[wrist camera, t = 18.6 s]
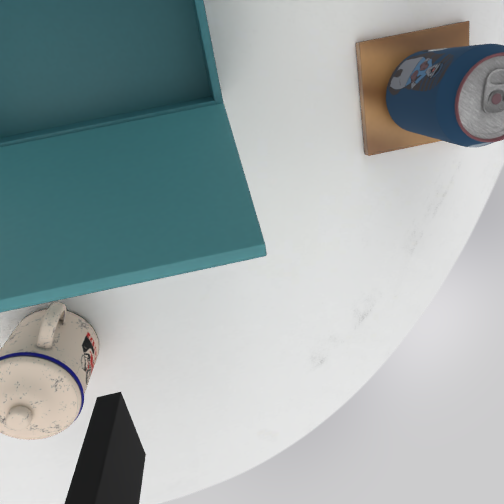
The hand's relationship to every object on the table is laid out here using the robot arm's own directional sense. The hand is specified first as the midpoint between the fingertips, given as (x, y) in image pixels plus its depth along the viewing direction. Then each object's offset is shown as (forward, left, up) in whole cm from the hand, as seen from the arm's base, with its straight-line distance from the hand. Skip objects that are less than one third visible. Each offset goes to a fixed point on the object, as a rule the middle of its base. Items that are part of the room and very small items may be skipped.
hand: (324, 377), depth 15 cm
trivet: (-5, +17, -31) cm, 36 cm away
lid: (-5, -12, -15) cm, 20 cm away
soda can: (-5, +17, -30) cm, 35 cm away
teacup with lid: (+12, -22, -31) cm, 40 cm away
